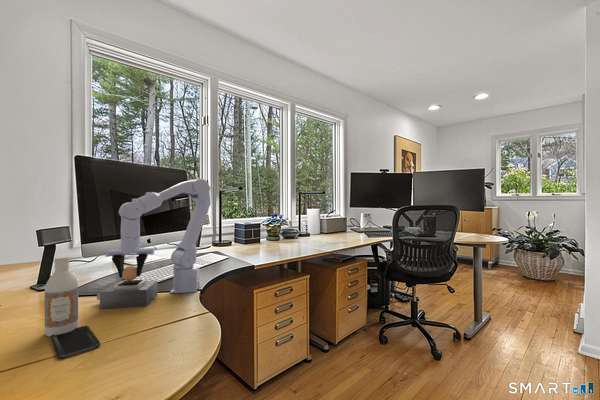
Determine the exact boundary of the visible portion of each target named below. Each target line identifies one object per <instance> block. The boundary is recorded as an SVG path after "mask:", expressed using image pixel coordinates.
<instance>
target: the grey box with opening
mask: <svg viewBox="0 0 600 400" xmlns="http://www.w3.org/2000/svg"><path fill="white" fill-rule="evenodd" d="M157 297H158V280H155V279H154V280H153V279H152V280H147V279H145V278H144V279H134V280H131V281H128V280H125V279H123V280H122V281H116V282H113V283H112V284H110V285H109V286H108V287H106V288H104V289H103V290H100V291H99V292H98V293H97V294H96V300H97V301H99V310H109V309H110V310H111V309H124V308H125V309H128V308H146V307H148V306H149V305H150V304H151V303H152V302H153V301H154V300H155V299H156V298H157Z"/></svg>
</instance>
